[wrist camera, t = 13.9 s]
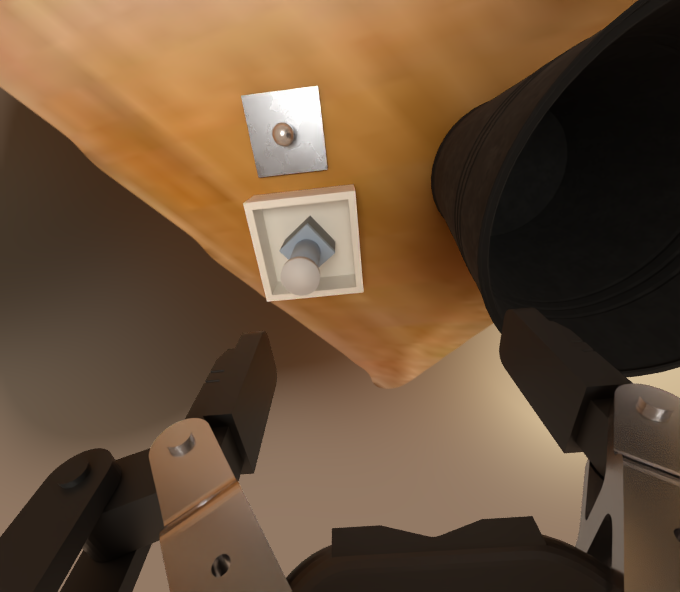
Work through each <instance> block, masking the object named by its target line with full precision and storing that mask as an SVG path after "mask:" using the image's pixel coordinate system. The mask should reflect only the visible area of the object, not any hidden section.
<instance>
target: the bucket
mask: <svg viewBox="0 0 680 592" xmlns="http://www.w3.org/2000/svg"><path fill="white" fill-rule="evenodd" d="M431 189H432V194H433V199H434V202H435V204H436V206H437V208H438V211H439V212H440V213H441V215H442V216H443V218H444V219H445V221H446V223H447V225H448V227H449V229H450V231H451V233H452V235H453V237H454V239H455V241H456V243H457V245H458V248H459V250H460V252H461V255H462V257H463V259H464V261H465V263H466V266H467V267H468V269H469V272H470V274H471V275H472V277H473V279H474V281H475V282H476V284H477V286H478V288H479V290H480V292H481V294H482V297H483V300H484V303H485V306H486V309H487V311H488V313H489V315H490V317H491V319H492V321H493V323H494V324H495V326H496V327H497V329H498V330H499V331H500V333H501V334H502V328H503V321H504V316H505V313H506V311H507V310H509V309H520V308H531V307H533V308H535V309H537V310H538V311H539V312H540V313H541V314H542V315H543V316H544V317H546V318H547V319H548V320H549V321H554V322H556V323H558V324H560V325H562V326H564V327H566V328H568V329H570V330H571V331H573V332H574V333H575V334H576V335H577V336H578V337H580V338H581V339H582V341H583V342H585V343H587V344H588V345H589V346H590V347H591V348H592V349H593V351H596V352H597V353H598V354H599V355H601V356H602V357H603V358H604V359H605V360H606V361H607V362H609V363H610V364H611V365H612V366H613V367H614V368H616V369H617V370H618V371H619V372H620V373H621V374H623V375H624V376H625V377H634V376H642V375H648V374H653V373H659V372H664V371H667V370H671V369H674V368H678V367H680V0H638V1H637V2H635V3H634V4H633V5H632V6H630V7H629V8H628V9H627V10H626V11H624V12H623V13H622V14H621V15H620V16H619V17H617V18H616V19H615V20H614V21H613V22H611V23H610V24H609V25H608V26H607V27H606V28H604V29H603V30H601V31H599V32H598V33H596V34H595V35H593V36H592V37H590V38H588V39H586V40H584V41H582V42H581V43H579V44H577V45H576V46H574V47H572V48H571V49H569V50H567V51H566V52H564V53H563V54H561V55H560V56H558V57H556V58H555V59H554V60H552V61H550V62H549V63H547V64H546V65H544V66H543V67H541V68H540V69H539V70H537V71H536V72H535V73H533V74H532V75H530V76H528V77H527V78H525V79H524V80H522V81H521V82H519V83H517V84H516V85H514V86H513V87H511V88H510V89H508V90H506V91H505V92H503V93H502V94H500V95H499V96H497V97H495V98H494V99H492V100H491V101H488V102H486V103H484V104H482V105H480V106H478V107H476V108H474V109H473V110H471V111H470V112H469V113H467V114H466V115H465V116H463V117H462V118H461V119H460V120H459V121H458V122H457V123H456V124H455V125H454V126H453V127H452V128H451V130H450V131H449V132H448V133H447V135H446V136H445V138H444V140H443V141H442V143H441V145H440V147H439V149H438V151H437V154H436V156H435V159H434V163H433V167H432V175H431Z"/></svg>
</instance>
